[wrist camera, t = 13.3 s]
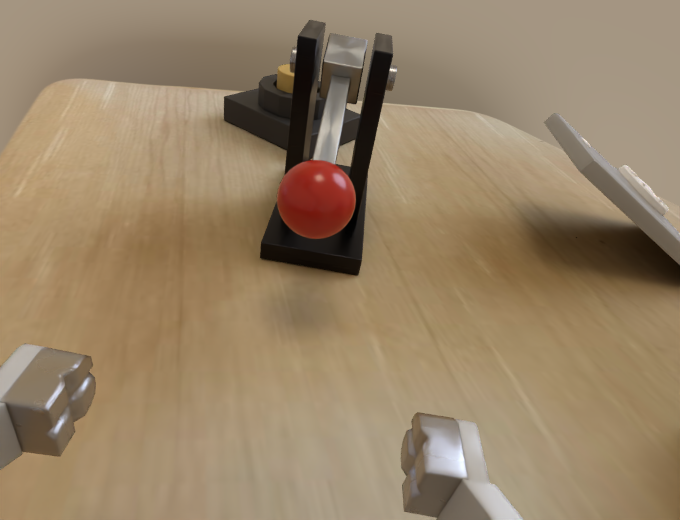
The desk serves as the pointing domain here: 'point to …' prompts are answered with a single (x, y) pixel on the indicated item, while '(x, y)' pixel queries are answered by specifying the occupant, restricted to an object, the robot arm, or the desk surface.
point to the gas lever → (326, 150)
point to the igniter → (278, 114)
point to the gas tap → (348, 243)
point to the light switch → (619, 186)
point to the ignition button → (285, 78)
